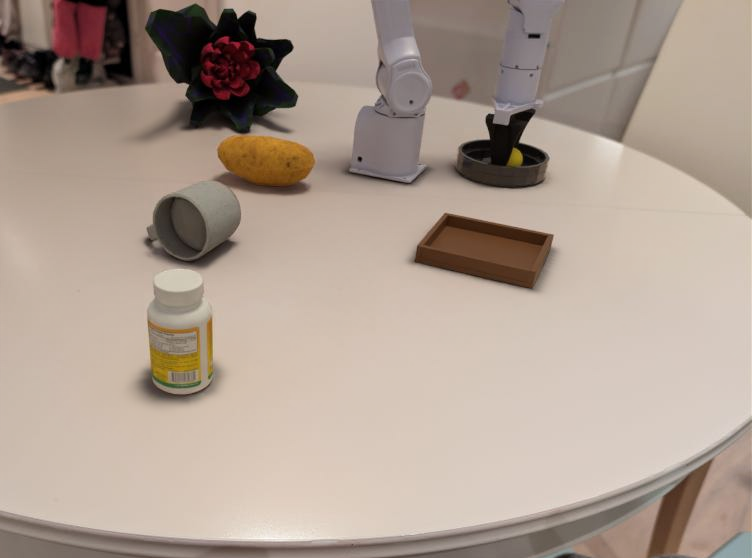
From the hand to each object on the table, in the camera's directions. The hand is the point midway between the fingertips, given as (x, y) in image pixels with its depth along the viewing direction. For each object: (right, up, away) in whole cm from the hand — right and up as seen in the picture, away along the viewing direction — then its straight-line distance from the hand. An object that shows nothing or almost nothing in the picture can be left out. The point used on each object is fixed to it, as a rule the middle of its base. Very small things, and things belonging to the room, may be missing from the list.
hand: (501, 161), depth 110 cm
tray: (-9, -17, -23) cm, 30 cm away
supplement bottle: (-42, -31, -45) cm, 69 cm away
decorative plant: (-41, +12, +19) cm, 47 cm away
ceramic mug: (-44, -16, -23) cm, 52 cm away
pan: (0, -1, +1) cm, 2 cm away
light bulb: (0, -1, +1) cm, 1 cm away
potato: (-35, -5, -5) cm, 36 cm away
